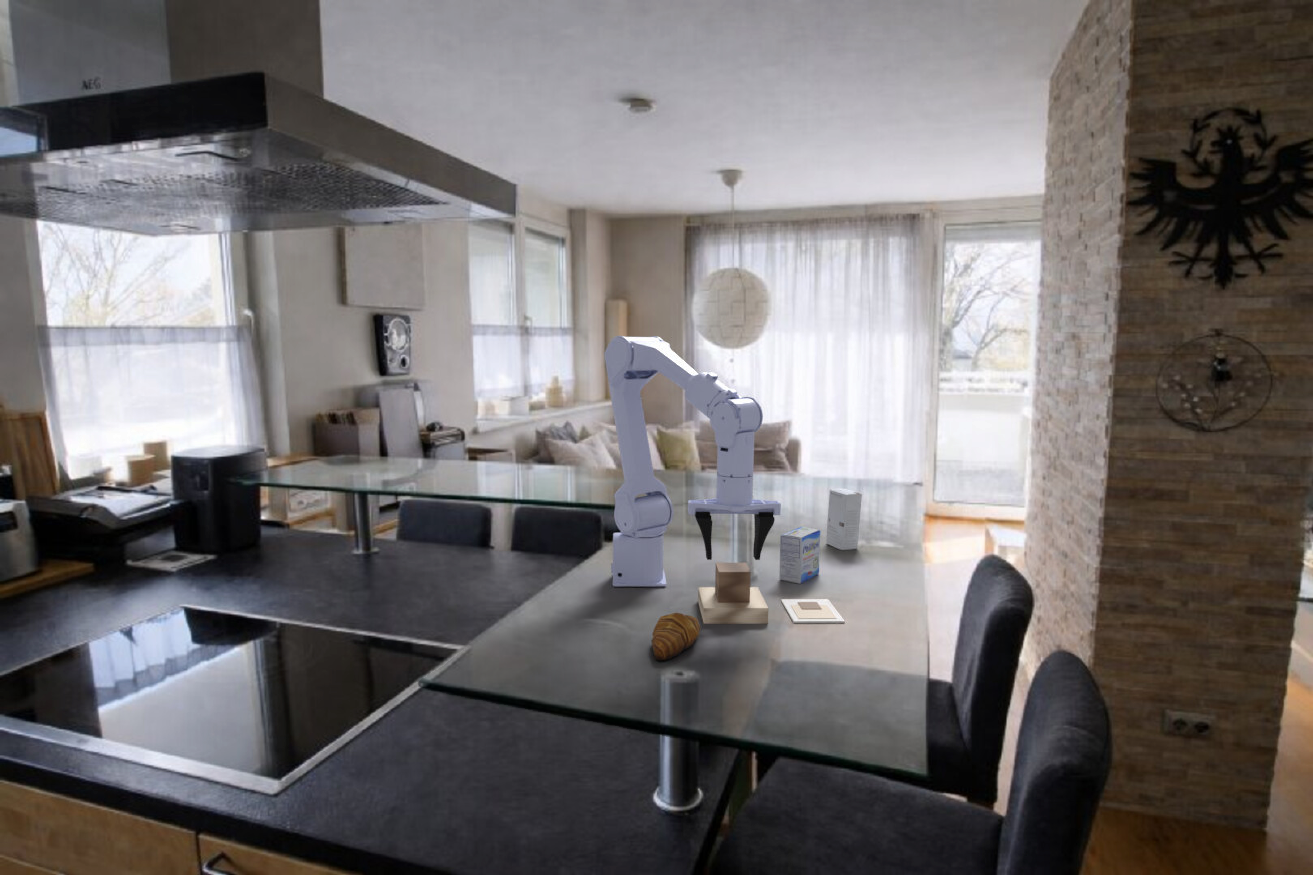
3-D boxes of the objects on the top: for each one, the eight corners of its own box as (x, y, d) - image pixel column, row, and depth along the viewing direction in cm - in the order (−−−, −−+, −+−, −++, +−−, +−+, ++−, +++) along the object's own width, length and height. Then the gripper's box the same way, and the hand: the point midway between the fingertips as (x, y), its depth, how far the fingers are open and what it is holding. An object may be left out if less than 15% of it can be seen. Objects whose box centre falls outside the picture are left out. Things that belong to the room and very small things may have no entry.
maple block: (703, 626, 117) (703, 608, 116) (698, 604, 127) (698, 587, 126) (767, 626, 117) (768, 608, 117) (757, 604, 127) (757, 587, 126)
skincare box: (825, 543, 163) (827, 488, 162) (842, 541, 165) (844, 487, 163) (842, 551, 158) (844, 494, 156) (859, 549, 159) (862, 492, 158)
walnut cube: (718, 602, 119) (718, 571, 118) (715, 592, 124) (715, 562, 123) (749, 602, 119) (750, 572, 118) (745, 592, 124) (746, 562, 123)
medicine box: (800, 585, 136) (802, 538, 134) (778, 580, 138) (779, 534, 137) (819, 574, 142) (821, 529, 141) (798, 569, 144) (799, 525, 143)
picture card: (793, 623, 117) (793, 620, 117) (780, 600, 127) (781, 598, 127) (844, 622, 117) (844, 619, 117) (828, 600, 127) (828, 598, 127)
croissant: (671, 626, 116) (672, 594, 115) (713, 633, 113) (714, 601, 113) (635, 659, 103) (635, 625, 103) (681, 668, 101) (681, 632, 100)
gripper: (691, 478, 115) (689, 565, 116) (785, 479, 115) (782, 565, 117) (687, 470, 122) (686, 552, 123) (776, 471, 122) (774, 552, 124)
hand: (732, 558), depth 121 cm, fingers open, 7 cm apart
